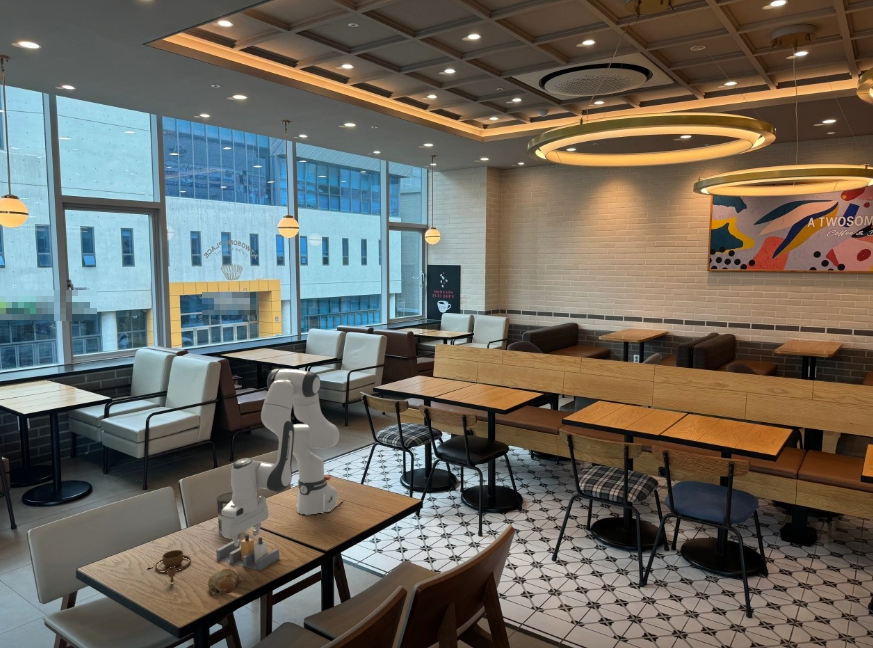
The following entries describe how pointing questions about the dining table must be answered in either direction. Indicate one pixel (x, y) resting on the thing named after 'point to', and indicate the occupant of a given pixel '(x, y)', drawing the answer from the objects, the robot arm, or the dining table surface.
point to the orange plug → (246, 546)
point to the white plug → (260, 549)
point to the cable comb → (245, 557)
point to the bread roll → (223, 581)
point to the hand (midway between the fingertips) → (247, 539)
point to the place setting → (173, 562)
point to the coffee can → (222, 506)
